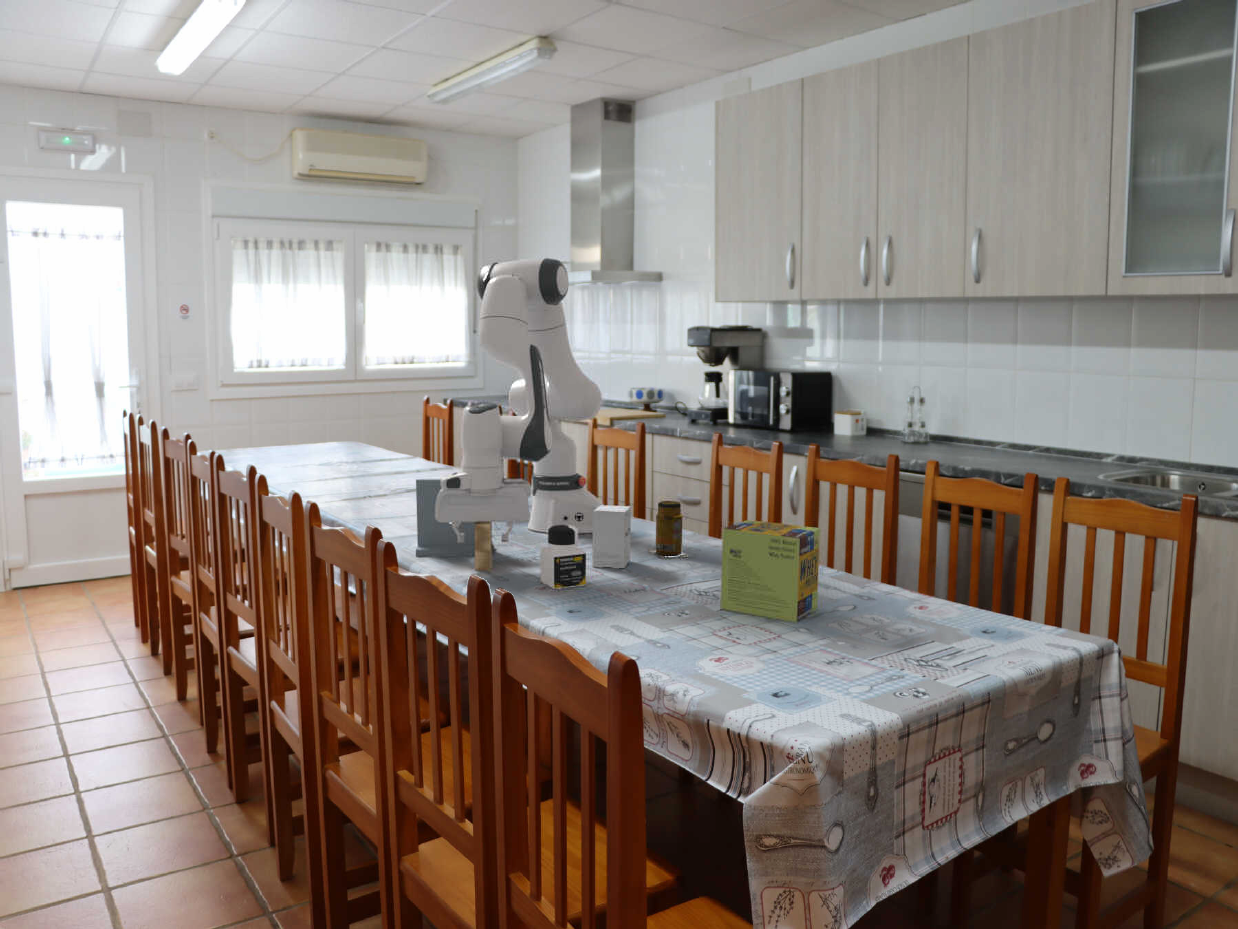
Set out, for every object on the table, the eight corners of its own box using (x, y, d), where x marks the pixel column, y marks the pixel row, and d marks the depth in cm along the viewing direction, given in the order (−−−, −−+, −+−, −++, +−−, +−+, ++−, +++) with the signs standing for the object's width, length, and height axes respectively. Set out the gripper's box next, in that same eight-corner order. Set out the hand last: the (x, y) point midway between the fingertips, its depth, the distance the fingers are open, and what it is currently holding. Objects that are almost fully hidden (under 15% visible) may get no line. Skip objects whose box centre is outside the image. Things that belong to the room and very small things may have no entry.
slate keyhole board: (492, 547, 231) (491, 476, 228) (491, 555, 223) (490, 481, 220) (420, 548, 229) (418, 476, 227) (415, 556, 221) (413, 482, 219)
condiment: (676, 549, 230) (677, 499, 228) (691, 557, 222) (692, 505, 220) (648, 551, 228) (648, 500, 226) (662, 559, 220) (662, 507, 218)
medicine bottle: (554, 590, 194) (553, 531, 192) (540, 582, 200) (539, 524, 198) (586, 586, 197) (586, 528, 195) (571, 578, 203) (571, 521, 201)
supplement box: (624, 569, 211) (625, 511, 209) (591, 567, 212) (591, 510, 210) (631, 561, 218) (631, 505, 216) (599, 559, 219) (599, 504, 217)
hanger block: (494, 559, 219) (494, 515, 217) (492, 570, 209) (491, 524, 208) (476, 559, 219) (475, 515, 217) (473, 570, 209) (472, 525, 207)
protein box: (797, 623, 173) (800, 537, 171) (719, 609, 181) (721, 527, 179) (818, 609, 182) (821, 527, 180) (743, 596, 190) (745, 518, 188)
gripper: (531, 476, 213) (531, 538, 215) (436, 476, 211) (438, 539, 213) (530, 480, 207) (531, 544, 209) (433, 481, 205) (434, 545, 207)
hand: (483, 541), depth 211 cm, fingers open, 8 cm apart
